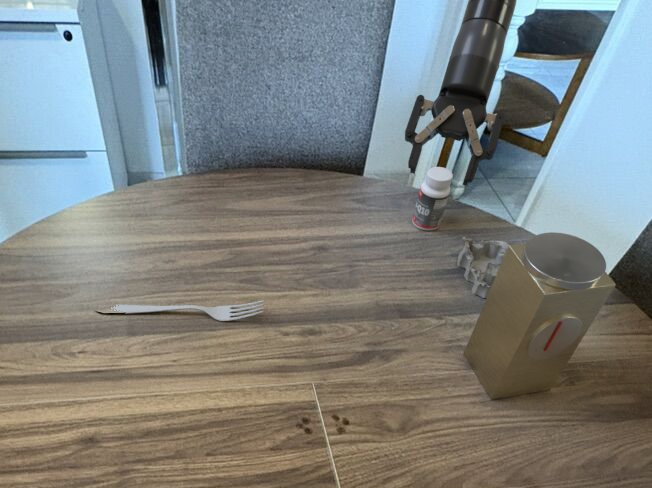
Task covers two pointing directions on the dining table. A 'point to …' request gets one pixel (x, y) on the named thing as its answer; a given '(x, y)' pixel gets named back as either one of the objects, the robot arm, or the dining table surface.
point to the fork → (216, 312)
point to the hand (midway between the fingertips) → (438, 177)
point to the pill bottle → (432, 198)
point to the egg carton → (482, 263)
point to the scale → (537, 313)
